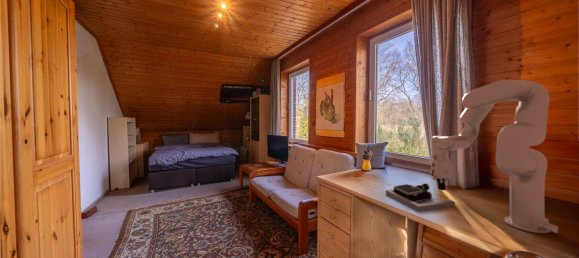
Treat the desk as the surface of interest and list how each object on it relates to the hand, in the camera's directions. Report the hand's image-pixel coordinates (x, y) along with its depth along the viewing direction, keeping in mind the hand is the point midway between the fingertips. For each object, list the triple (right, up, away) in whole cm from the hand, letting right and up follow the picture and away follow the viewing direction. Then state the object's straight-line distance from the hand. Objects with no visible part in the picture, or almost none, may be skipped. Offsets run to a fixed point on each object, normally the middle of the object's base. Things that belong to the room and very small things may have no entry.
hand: (441, 189), depth 121 cm
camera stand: (-15, -5, -2) cm, 16 cm away
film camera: (-15, -6, +1) cm, 16 cm away
